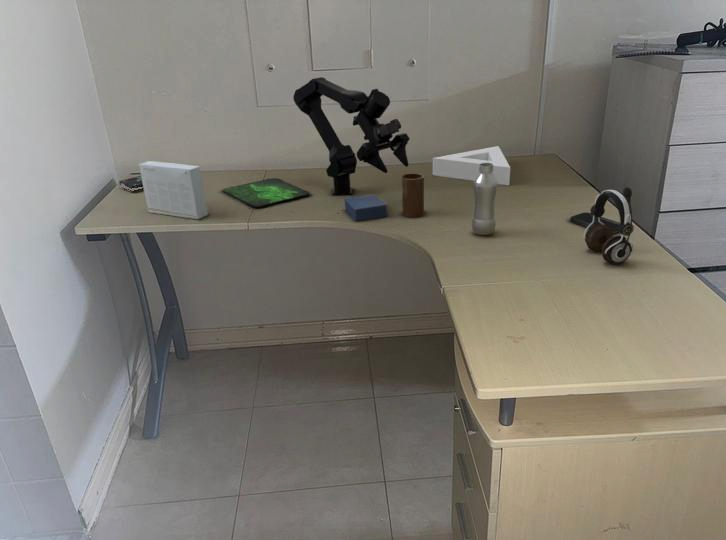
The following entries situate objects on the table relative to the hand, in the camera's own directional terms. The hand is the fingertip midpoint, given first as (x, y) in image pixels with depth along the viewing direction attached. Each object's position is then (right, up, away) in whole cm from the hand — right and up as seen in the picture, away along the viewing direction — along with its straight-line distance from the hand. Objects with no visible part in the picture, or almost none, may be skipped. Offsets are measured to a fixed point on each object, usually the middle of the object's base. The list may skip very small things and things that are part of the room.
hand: (397, 169), depth 199 cm
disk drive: (-92, +3, +37) cm, 100 cm away
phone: (+59, -19, -11) cm, 63 cm away
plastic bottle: (+25, -22, -14) cm, 36 cm away
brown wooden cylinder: (+5, -13, +2) cm, 15 cm away
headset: (+54, -31, -31) cm, 70 cm away
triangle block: (+27, +8, +38) cm, 47 cm away
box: (-10, -13, +4) cm, 17 cm away
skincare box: (-71, -12, +9) cm, 73 cm away
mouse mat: (-46, -2, +25) cm, 52 cm away
